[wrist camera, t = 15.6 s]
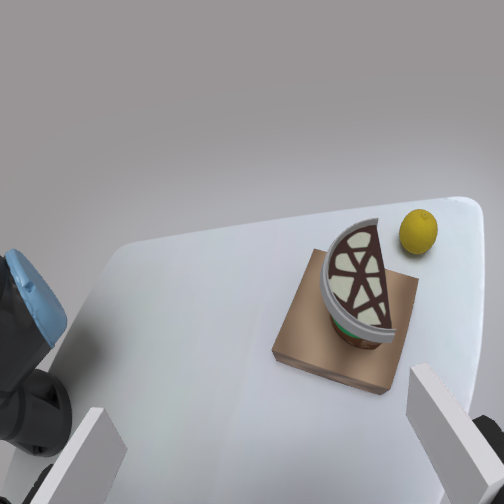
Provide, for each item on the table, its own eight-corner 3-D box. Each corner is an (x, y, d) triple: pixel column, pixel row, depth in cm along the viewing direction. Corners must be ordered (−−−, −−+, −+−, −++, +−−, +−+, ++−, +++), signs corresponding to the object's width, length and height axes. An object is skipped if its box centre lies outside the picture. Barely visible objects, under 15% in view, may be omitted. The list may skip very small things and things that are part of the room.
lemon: (413, 227, 46) (425, 193, 39) (435, 252, 43) (451, 220, 36) (387, 242, 45) (397, 208, 39) (409, 270, 42) (424, 238, 36)
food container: (317, 266, 39) (315, 216, 31) (366, 263, 38) (377, 213, 30) (320, 365, 33) (322, 341, 24) (375, 362, 32) (396, 335, 23)
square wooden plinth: (276, 361, 40) (271, 349, 35) (314, 271, 46) (314, 248, 41) (379, 395, 35) (390, 389, 30) (407, 298, 41) (418, 279, 36)
